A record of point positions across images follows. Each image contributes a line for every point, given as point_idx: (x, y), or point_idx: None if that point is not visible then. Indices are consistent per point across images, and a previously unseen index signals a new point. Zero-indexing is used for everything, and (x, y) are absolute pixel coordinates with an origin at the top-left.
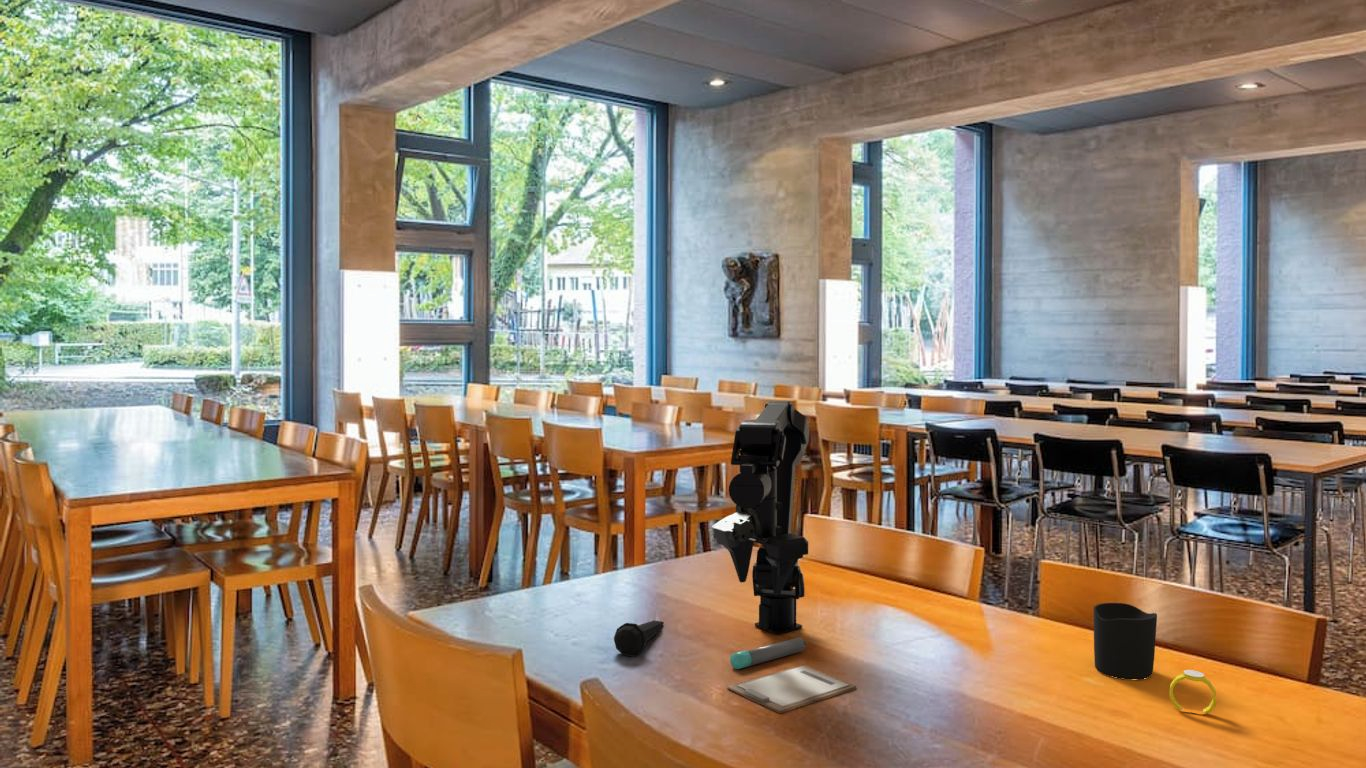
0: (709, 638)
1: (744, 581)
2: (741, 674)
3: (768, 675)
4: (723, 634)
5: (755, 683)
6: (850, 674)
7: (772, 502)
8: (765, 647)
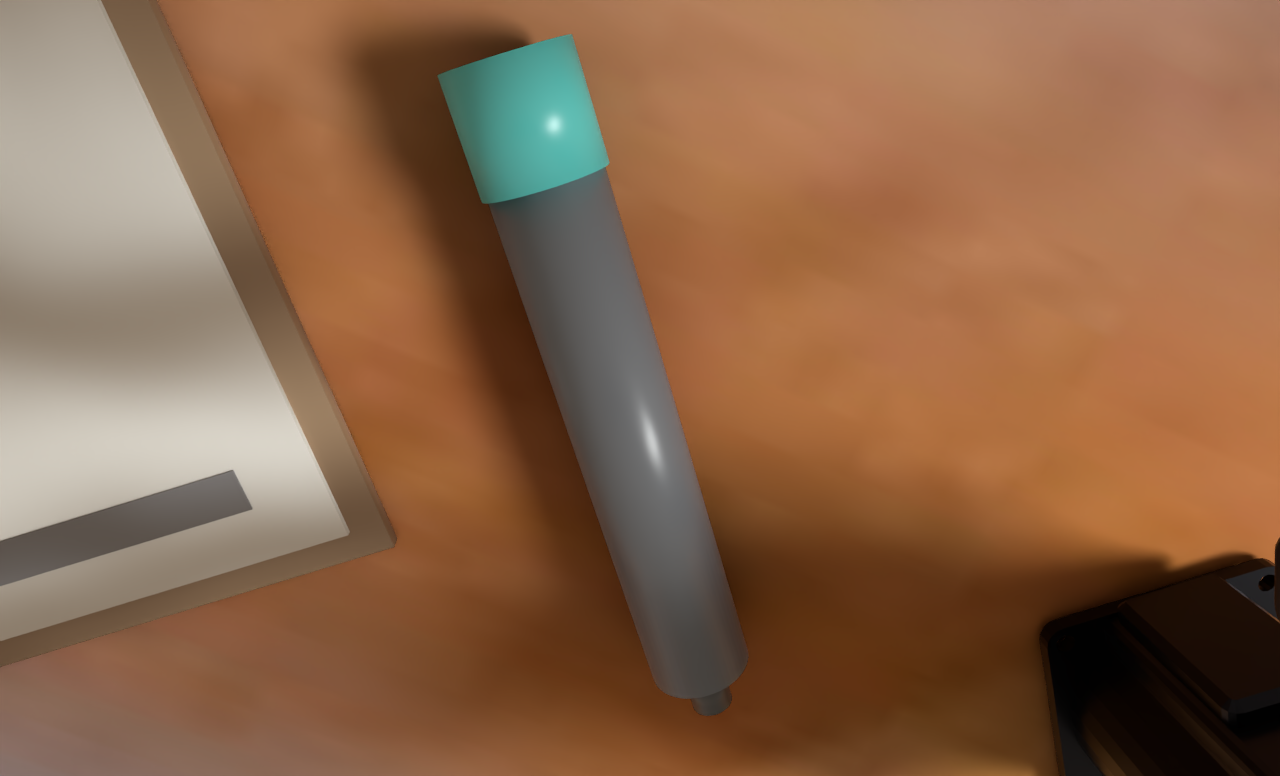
0: (1241, 155)
1: (1277, 601)
2: (382, 57)
3: (236, 232)
4: (1255, 294)
5: (43, 40)
6: (189, 746)
7: None
8: (599, 388)
